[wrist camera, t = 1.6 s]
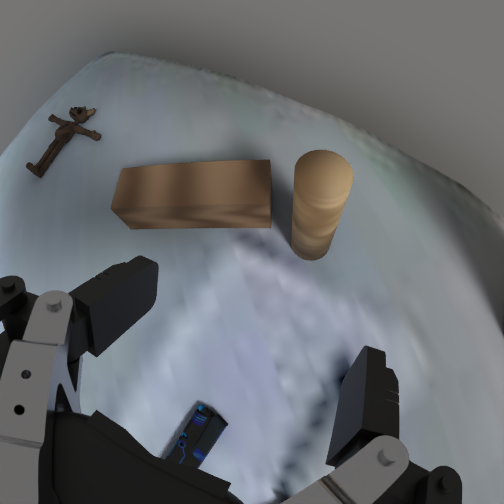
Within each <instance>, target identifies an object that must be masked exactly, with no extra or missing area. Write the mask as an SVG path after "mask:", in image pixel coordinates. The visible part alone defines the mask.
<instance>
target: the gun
mask: <svg viewBox="0 0 504 504" xmlns="http://www.w3.org/2000/svg"><path fill="white" fill-rule="evenodd" d="M198 409H199V410H198ZM198 409H197V410H196V412H195V413H194V415H193V417H192V418H191V420H190V421H189V423H188V425H187V426H186V428H185V429H184V431H183V433H182V434H181V436H180V437H179V439H178V441H177V442H176V444H175V445H174V447H173V449H172V450H171V452H170V453H169V455H168V456H167V458H166V460H168V461H172V462H176V463H179V464H183V465H187V466H192V467H195V468H197V469H198V468H199V466H200V465H201V464H202V462H203V461H204V459H205V458H206V456H207V455H208V453H209V452H210V450H211V449H212V447H213V446H214V444H215V443H216V441H217V440H218V438H219V437H220V435H221V434H222V432H223V431H224V429H225V427H226V426H227V425H228V424H227V423H226V422H225V421H224V420H223V419H222V418H221V417H220V415H219V414H217V415H218V416H219V417H220V418H221V419H222V420H223V421H224V422H223V421H222V420H221V419H220V418H219V417H218V416H217V415H215V414H214V413H213V412H212V411H211V410H209V409H208V408H206V407H204V406H202V405H199V406H198ZM199 412H200V413H199ZM226 424H227V425H226ZM183 436H184V437H185V438H184V437H183ZM282 502H284V501H281V503H282Z"/></svg>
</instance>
